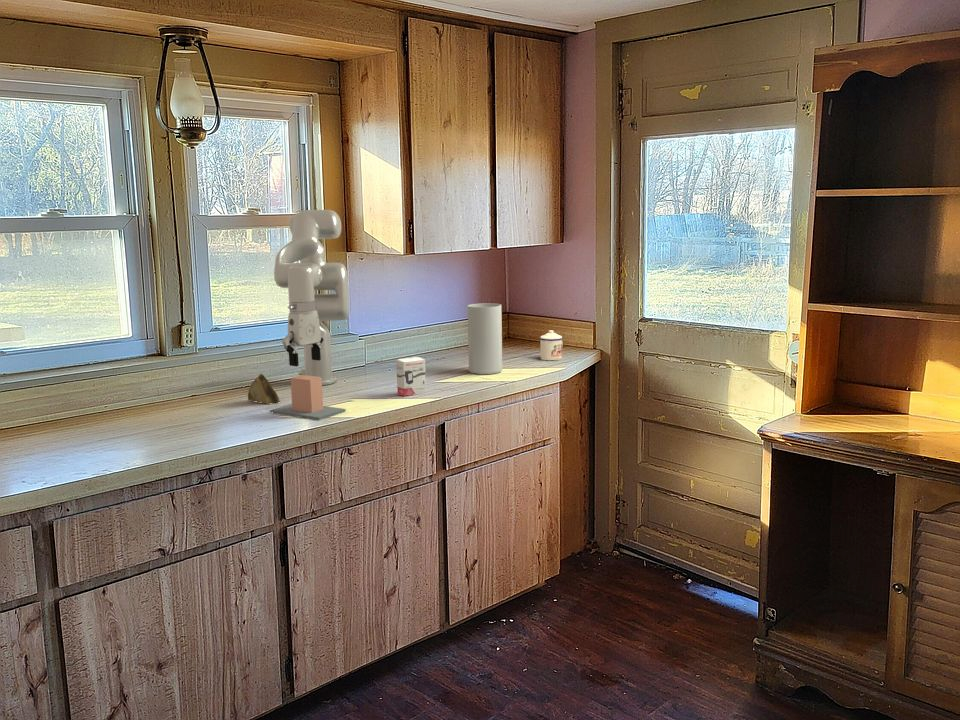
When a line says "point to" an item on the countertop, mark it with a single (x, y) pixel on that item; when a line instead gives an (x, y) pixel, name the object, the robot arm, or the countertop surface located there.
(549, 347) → the teacup with lid
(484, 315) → the cylinder vase
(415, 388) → the ink box
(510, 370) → the countertop surface
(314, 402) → the terracotta block
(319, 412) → the mat
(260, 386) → the rock
